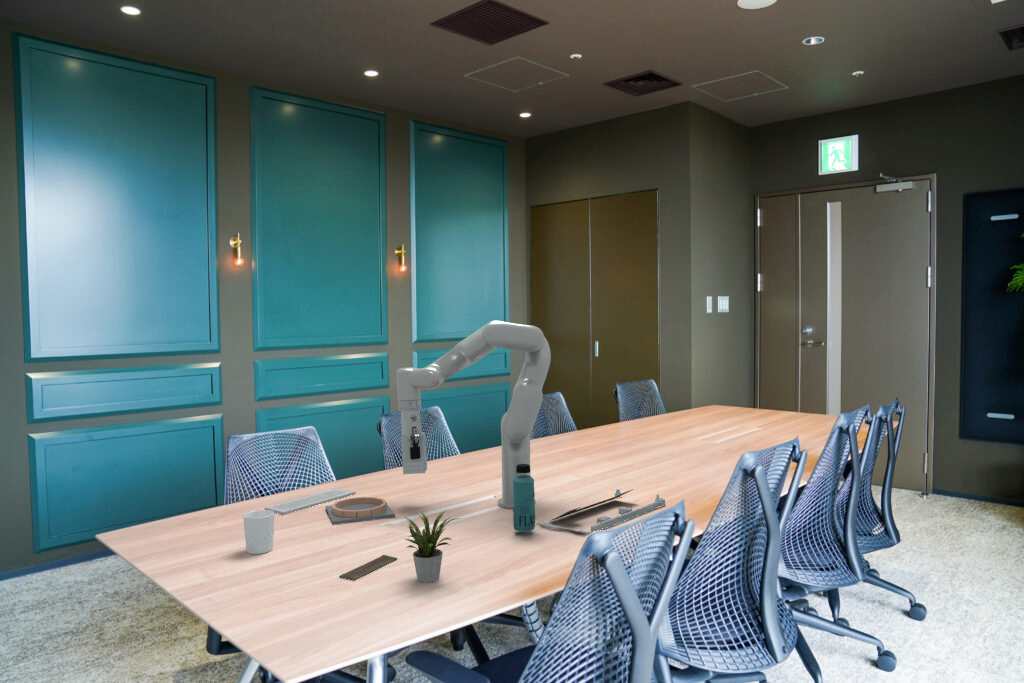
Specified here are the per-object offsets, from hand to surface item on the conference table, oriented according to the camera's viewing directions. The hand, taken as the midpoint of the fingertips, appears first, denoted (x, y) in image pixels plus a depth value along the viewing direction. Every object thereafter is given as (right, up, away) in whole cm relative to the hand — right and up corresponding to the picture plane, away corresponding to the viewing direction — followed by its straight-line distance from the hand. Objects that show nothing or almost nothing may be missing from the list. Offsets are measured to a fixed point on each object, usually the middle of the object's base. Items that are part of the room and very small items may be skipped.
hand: (411, 456), depth 226 cm
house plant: (+14, -19, -63) cm, 67 cm away
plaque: (-36, -18, +9) cm, 41 cm away
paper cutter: (+62, -17, -12) cm, 65 cm away
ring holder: (-16, -17, -6) cm, 24 cm away
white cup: (-35, -19, -41) cm, 57 cm away
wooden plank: (-2, -19, -55) cm, 59 cm away
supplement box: (+1, -5, 0) cm, 5 cm away
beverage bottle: (+37, -17, -30) cm, 50 cm away
